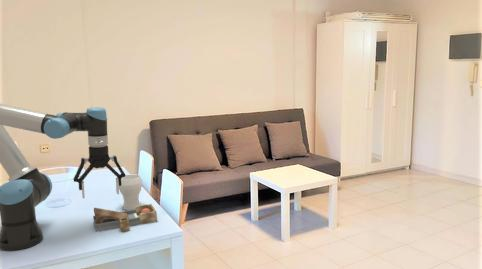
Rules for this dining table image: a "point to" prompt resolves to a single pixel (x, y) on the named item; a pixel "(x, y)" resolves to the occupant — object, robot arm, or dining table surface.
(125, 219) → the hollow wooden block
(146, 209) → the ball
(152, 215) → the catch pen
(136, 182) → the cup
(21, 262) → the dining table surface
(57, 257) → the dining table surface
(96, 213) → the ramp
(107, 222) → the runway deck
